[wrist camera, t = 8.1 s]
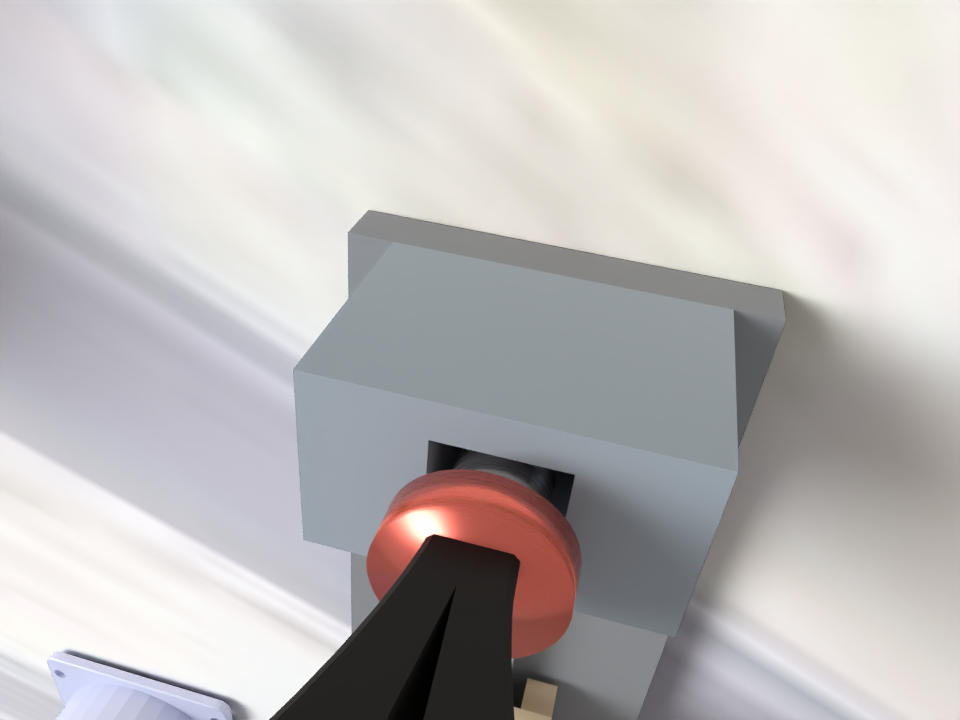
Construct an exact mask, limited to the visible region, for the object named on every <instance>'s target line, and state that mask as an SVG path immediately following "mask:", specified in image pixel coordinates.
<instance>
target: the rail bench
mask: <svg viewBox="0 0 960 720" xmlns="http://www.w3.org/2000/svg"><path fill="white" fill-rule="evenodd" d="M348 288H349V299H348V300H347V301H346V303H345V304H344V305H343V306H342V308H341V309H340V310H339V312H338V313H337V314H336V315H335V317H334V318H333V319H332V321H331V322H330V323H329V324H328V326H327V327H326V328H325V329H324V331H323V332H322V333H321V335H320V336H319V337H318V338H317V340H316V341H315V342H314V344H313V345H312V346H311V347H310V349H309V350H308V351H307V353H306V354H305V355H304V356H303V358H302V359H301V360H300V361H299V363H298V364H297V365H296V367H295V368H294V369H293V375H294V392H295V408H296V425H297V441H298V457H299V474H300V490H301V507H302V523H303V540H306V541H310V542H314V543H318V544H321V545H325V546H329V547H333V548H336V549H340V550H344V551H348V552H351V606H352V633H353V632H354V631H355V630H356V629H357V628H358V626H359V625H360V624H361V623H362V622H363V621H364V620H365V618H366V617H367V616H368V615H369V614H370V613H371V611H372V610H373V609H374V608H375V607H376V606H377V604H378V603H379V602H380V601H379V600H378V598H377V597H376V595H375V593H374V592H373V589H372V587H371V585H370V582H369V579H368V575H367V567H366V561H367V554H368V550H369V547H370V545H371V543H372V541H373V539H374V537H375V535H376V532H377V530H378V528H379V526H380V524H381V522H382V520H383V518H384V516H385V514H386V512H387V510H388V508H389V506H390V504H391V502H392V500H393V498H394V497H395V495H396V494H397V493H398V492H399V491H400V489H402V488H403V487H404V486H405V485H406V484H408V483H409V482H411V481H413V480H414V479H416V478H418V477H421V476H423V475H426V474H429V473H433V472H437V471H443V470H450V469H453V466H454V464H455V461H456V459H457V456H458V454H459V452H460V449H461V448H464V449H468V450H472V451H477V452H481V453H485V454H489V455H493V456H498V457H502V458H506V459H510V460H515V461H519V462H523V463H527V464H531V465H536V466H540V467H544V468H548V469H552V470H557V471H559V472H558V476H557V480H556V484H555V488H554V493H553V497H552V501H551V504H552V505H554V506H555V507H556V508H557V509H558V510H559V511H560V512H561V513H562V515H563V516H564V517H565V519H566V520H567V521H568V522H569V524H570V525H571V527H572V529H573V531H574V532H575V534H576V537H577V539H578V542H579V545H580V549H581V556H582V565H581V571H580V577H579V582H578V588H577V593H576V598H575V604H574V609H573V615H572V619H571V622H570V625H569V627H568V629H567V630H566V632H565V633H564V635H563V636H562V637H561V638H560V639H559V640H558V641H557V642H556V643H555V644H553V645H552V646H551V647H549V648H547V649H545V650H543V651H541V652H539V653H536V654H533V655H530V656H526V657H522V658H515V659H512V680H513V704H514V707H516V708H520V709H521V705H522V701H523V696H524V692H525V687H526V683H527V678H529V679H533V680H537V681H540V682H544V683H547V684H551V685H554V686H558V687H557V693H556V698H555V703H554V709H553V714H552V719H551V720H637V718H638V716H639V713H640V710H641V708H642V705H643V702H644V700H645V697H646V694H647V691H648V689H649V686H650V683H651V681H652V678H653V675H654V673H655V670H656V667H657V665H658V662H659V659H660V657H661V654H662V651H663V649H664V646H665V643H666V641H667V638H668V636H670V637H674V638H675V637H676V634H677V632H678V629H679V626H680V624H681V621H682V619H683V616H684V613H685V611H686V608H687V606H688V603H689V600H690V598H691V595H692V592H693V590H694V587H695V585H696V582H697V579H698V577H699V574H700V572H701V569H702V566H703V564H704V561H705V558H706V556H707V553H708V551H709V548H710V545H711V543H712V540H713V538H714V535H715V532H716V530H717V527H718V524H719V522H720V519H721V517H722V514H723V511H724V509H725V506H726V504H727V501H728V498H729V496H730V493H731V490H732V488H733V485H734V483H735V480H736V477H737V475H738V472H739V468H738V448H739V445H740V442H741V440H742V437H743V434H744V432H745V429H746V426H747V424H748V421H749V418H750V416H751V413H752V410H753V408H754V405H755V402H756V400H757V397H758V394H759V391H760V389H761V386H762V383H763V381H764V378H765V375H766V373H767V370H768V367H769V365H770V362H771V359H772V357H773V354H774V351H775V349H776V346H777V343H778V341H779V338H780V335H781V333H782V330H783V327H784V325H785V322H786V315H785V308H784V301H783V293H782V291H781V290H776V289H771V288H766V287H761V286H756V285H750V284H745V283H740V282H735V281H730V280H725V279H720V278H714V277H709V276H704V275H699V274H694V273H689V272H684V271H678V270H673V269H668V268H663V267H658V266H653V265H648V264H642V263H637V262H632V261H627V260H622V259H617V258H611V257H606V256H601V255H596V254H591V253H586V252H581V251H575V250H570V249H565V248H560V247H555V246H550V245H545V244H539V243H534V242H529V241H524V240H519V239H514V238H509V237H503V236H498V235H493V234H488V233H483V232H478V231H472V230H467V229H462V228H457V227H452V226H447V225H442V224H436V223H431V222H426V221H421V220H416V219H411V218H406V217H400V216H395V215H390V214H385V213H380V212H375V211H370V210H368V211H367V212H366V213H365V215H364V216H363V217H362V218H361V219H360V220H359V221H358V222H357V223H356V224H355V226H354V227H353V228H352V229H351V230H350V231H349V232H348Z"/></svg>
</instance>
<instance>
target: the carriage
mask: <svg viewBox="0 0 960 720" xmlns="http://www.w3.org/2000/svg"><path fill="white" fill-rule="evenodd" d="M557 687H558V686H554V685H551V684H547V683H544V682H540V681H537V680H533V679H529V678H527V683H526V687H525V692H524V696H523V701H522V705H521V709H520V708H516V707H514V718H515V720H551V719H552V714H553V709H554V703H555V698H556V693H557Z"/></svg>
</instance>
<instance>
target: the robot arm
mask: <svg viewBox="0 0 960 720" xmlns="http://www.w3.org/2000/svg"><path fill="white" fill-rule="evenodd" d="M519 568H520V561H519V559H518V558H517V557H516V556H515V555H514V554H511V553H507V552H503V551H499V550H495V549H491V548H487V547H483V546H479V545H475V544H471V543H468V542H464V541H460V540H456V539H452V538H448V537H444V536H440V535H436V534H433V535H430V536H428V537H426V538H425V540H424V542H423V543H422V545H421V546H420V548H419V550H418V551H417V553H416V554H415V555H414V557H413V558H412V560H411V561H410V563H409V564H408V565H407V567H406V568H405V570H404V571H403V572H402V574H401V575H400V576H399V578H398V579H397V580H396V582H395V583H394V584H393V585H392V587H391V588H390V589H389V590H388V592H387V593H386V594H385V595H384V597H383V598H382V599H381V601H380V602H379V603H378V604H377V606H376V607H375V608H374V609H373V610H372V611H371V613H370V614H369V615H368V616H367V617H366V618H365V620H364V621H363V622H362V623H361V624H360V625H359V626H358V628H357V629H356V630H355V631H354V632H353V633H352V635H351V636H350V637H349V638H348V639H347V640H346V642H345V643H344V644H343V645H342V646H341V647H340V648H339V649H338V650H337V652H336V653H335V654H334V655H333V656H332V657H331V658H330V659H329V660H328V661H327V662H326V663H325V664H324V665H323V666H322V667H321V668H320V669H319V670H318V671H317V672H316V674H315V675H314V676H313V677H312V678H311V679H310V680H309V681H308V682H307V683H306V684H305V685H304V686H303V687H302V688H301V689H300V690H299V691H298V692H297V693H296V694H295V695H294V696H293V697H292V698H291V699H290V700H289V701H288V702H287V703H286V704H285V705H284V706H283V707H282V708H281V709H280V710H279V711H278V712H277V713H276V714H275V715H274V716H273V717H272V718H270V719H269V720H515V718H514V704H513V680H512V616H513V602H514V596H515V590H516V585H517V579H518V573H519ZM47 663H48V666H49V669H50V671H51V674H52V677H53V679H54V682H55V684H56V687H57V689H58V692H59V694H60V697H61V700H62V702H63V705H64V709H63V710H62V711H61V713H60V714H59V715H58V717H57V718H56V720H233V718H232V712H231V709H230V707H229V706H228V704H226V703H225V702H223V701H221V700H218V699H215V698H212V697H209V696H205V695H202V694H199V693H195V692H192V691H189V690H185V689H182V688H179V687H175V686H172V685H169V684H165V683H162V682H159V681H155V680H152V679H149V678H146V677H142V676H139V675H136V674H132V673H129V672H126V671H122V670H119V669H116V668H112V667H109V666H106V665H102V664H99V663H96V662H92V661H89V660H86V659H83V658H79V657H76V656H73V655H69V654H66V653H63V652H53V654H52V655H51V656H50V657H49V659H48V660H47Z"/></svg>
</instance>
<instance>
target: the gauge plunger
mask: <svg viewBox="0 0 960 720" xmlns="http://www.w3.org/2000/svg"><path fill="white" fill-rule="evenodd" d="M558 472H559V471H557V470H552V469H548V468H544V467H540V466H536V465H531V464H527V463H523V462H519V461H515V460H510V459H506V458H502V457H498V456H493V455H489V454H485V453H481V452H477V451H472V450H468V449H464V448H461V449H460V452H459V454H458V456H457V459H456V461H455V464H454V466H453V469H450V470H443V471H437V472H433V473H429V474H426V475H423V476H421V477H418V478H416V479H414V480H413V481H411V482H409V483H408V484H406V485H405V486H404V487H403V488H402V489H400V491H399V492H398V493H397V494H396V495H395V497H394V498H393V500H392V502H391V504H390V506H389V508H388V510H387V512H386V514H385V516H384V518H383V520H382V522H381V524H380V526H379V528H378V530H377V532H376V535H375V537H374V539H373V541H372V543H371V545H370V547H369V550H368V554H367V561H366V567H367V575H368V579H369V582H370V585H371V587H372V589H373V592H374V593H375V595H376V597H377V598H378V600H379V601H381V599H382V598H383V597H384V595H385V594H386V593H387V592H388V590H389V589H390V588H391V587H392V585H393V584H394V583H395V582H396V580H397V579H398V578H399V576H400V575H401V574H402V572H403V571H404V570H405V568H406V567H407V565H408V564H409V563H410V561H411V560H412V558H413V557H414V555H415V554H416V553H417V551H418V550H419V548H420V546H421V545H422V543H423V542H424V540H425V538H426V537H428V536H430V535H433V534H436V535H440V536H444V537H448V538H452V539H456V540H460V541H464V542H468V543H471V544H475V545H479V546H483V547H487V548H491V549H495V550H499V551H503V552H507V553H511V554H514V555H515V556H516V557H517V558H518V559H519V561H520V568H519V573H518V579H517V585H516V590H515V596H514V602H513V616H512V659H515V658H522V657H526V656H530V655H533V654H536V653H539V652H541V651H543V650H545V649H547V648H549V647H551V646H552V645H553V644H555V643H556V642H557V641H558V640H559V639H560V638H561V637H562V636H563V635H564V633H565V632H566V630H567V629H568V627H569V625H570V622H571V619H572V615H573V609H574V604H575V598H576V593H577V588H578V582H579V577H580V571H581V565H582V556H581V549H580V545H579V542H578V539H577V537H576V534H575V532H574V531H573V529H572V527H571V525H570V524H569V522H568V521H567V520H566V519H565V517H564V516H563V515H562V513H561V512H560V511H559V510H558V509H557V508H556V507H555V506H554V505H552V504H551V501H552V497H553V493H554V488H555V484H556V480H557V476H558Z"/></svg>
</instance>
